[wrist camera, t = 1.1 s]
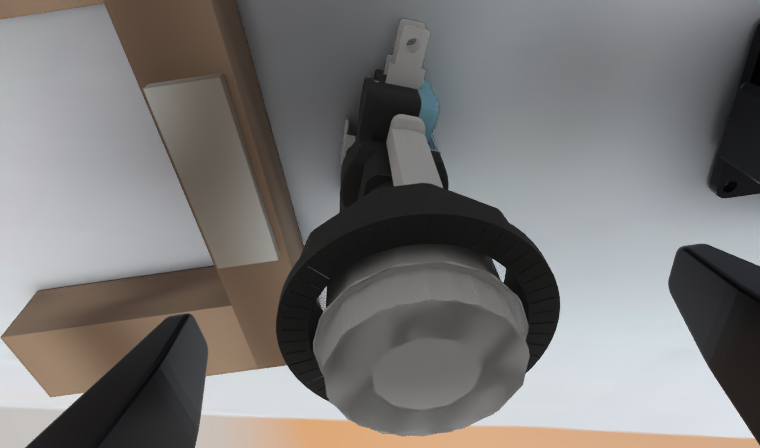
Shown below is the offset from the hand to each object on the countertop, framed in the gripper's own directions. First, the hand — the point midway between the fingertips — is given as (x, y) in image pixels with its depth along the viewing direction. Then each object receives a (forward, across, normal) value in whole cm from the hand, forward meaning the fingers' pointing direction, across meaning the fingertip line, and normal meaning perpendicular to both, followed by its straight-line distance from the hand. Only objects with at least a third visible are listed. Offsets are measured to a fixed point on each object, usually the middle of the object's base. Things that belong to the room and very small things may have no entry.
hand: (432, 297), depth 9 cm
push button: (+9, 0, 0) cm, 9 cm away
